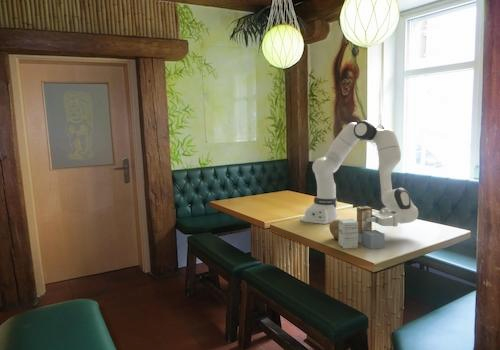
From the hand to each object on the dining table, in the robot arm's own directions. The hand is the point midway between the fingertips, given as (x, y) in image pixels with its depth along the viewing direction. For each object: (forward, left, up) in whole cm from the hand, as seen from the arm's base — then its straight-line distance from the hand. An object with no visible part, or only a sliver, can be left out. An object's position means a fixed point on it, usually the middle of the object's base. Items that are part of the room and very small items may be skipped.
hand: (362, 218), depth 191 cm
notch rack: (+3, -3, -12) cm, 12 cm away
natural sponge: (-12, 0, -12) cm, 17 cm away
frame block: (+1, +1, -8) cm, 8 cm away
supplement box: (-6, -10, -12) cm, 17 cm away
